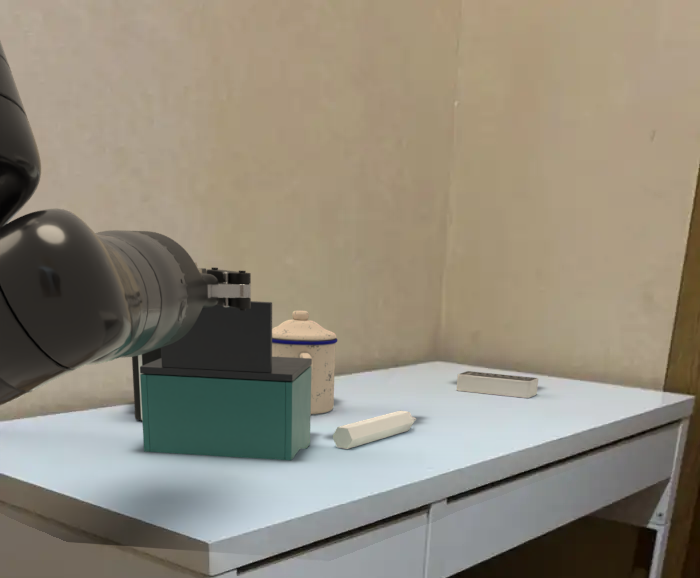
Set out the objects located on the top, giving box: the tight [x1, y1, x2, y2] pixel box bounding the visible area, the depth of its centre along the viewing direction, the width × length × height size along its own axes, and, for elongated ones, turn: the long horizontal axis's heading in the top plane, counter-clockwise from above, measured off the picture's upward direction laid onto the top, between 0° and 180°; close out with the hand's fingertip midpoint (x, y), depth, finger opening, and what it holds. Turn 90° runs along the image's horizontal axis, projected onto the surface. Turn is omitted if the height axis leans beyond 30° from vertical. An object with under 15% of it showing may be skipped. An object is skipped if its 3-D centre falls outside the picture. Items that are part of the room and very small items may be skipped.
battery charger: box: [131, 348, 161, 421], centre depth 106 cm, size 7×4×11 cm, turn 11°
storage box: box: [140, 366, 312, 461], centre depth 91 cm, size 14×12×8 cm
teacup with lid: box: [272, 310, 338, 415], centre depth 113 cm, size 12×9×12 cm
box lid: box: [140, 300, 312, 381], centre depth 88 cm, size 14×12×7 cm
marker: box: [332, 410, 417, 450], centre depth 102 cm, size 3×2×16 cm
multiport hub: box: [456, 370, 539, 399], centre depth 135 cm, size 4×11×2 cm, turn 64°
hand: (198, 282), depth 76 cm, fingers closed
